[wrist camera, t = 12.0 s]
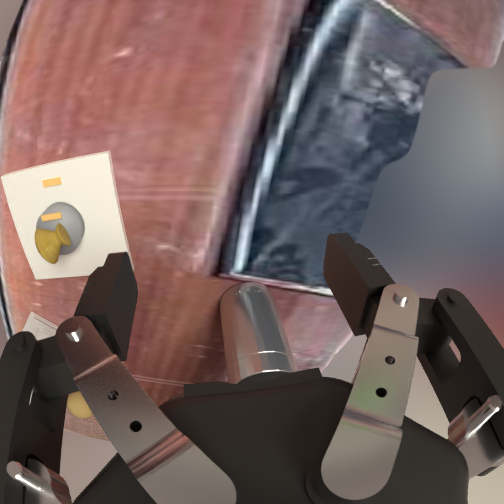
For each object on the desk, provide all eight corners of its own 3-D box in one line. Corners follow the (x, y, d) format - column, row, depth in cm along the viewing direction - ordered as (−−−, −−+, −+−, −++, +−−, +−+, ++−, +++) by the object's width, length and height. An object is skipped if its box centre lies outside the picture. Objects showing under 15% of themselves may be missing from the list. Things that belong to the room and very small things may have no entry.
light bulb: (94, 371, 56) (86, 410, 48) (102, 387, 60) (96, 424, 52) (69, 369, 55) (59, 407, 47) (78, 385, 59) (71, 421, 51)
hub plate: (134, 267, 44) (130, 283, 41) (38, 275, 42) (29, 290, 39) (110, 150, 35) (101, 158, 31) (4, 174, 32) (-9, 184, 29)
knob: (57, 254, 37) (44, 275, 33) (37, 224, 34) (22, 243, 30) (80, 242, 37) (69, 263, 33) (61, 210, 34) (46, 229, 30)
